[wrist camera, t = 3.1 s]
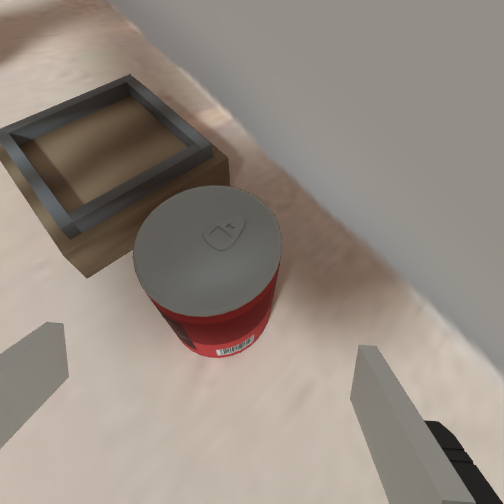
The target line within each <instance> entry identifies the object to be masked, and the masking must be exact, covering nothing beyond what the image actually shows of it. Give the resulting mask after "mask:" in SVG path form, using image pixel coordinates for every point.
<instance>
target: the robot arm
mask: <svg viewBox="0 0 504 504" xmlns="http://www.w3.org/2000/svg"><path fill="white" fill-rule="evenodd" d="M68 377H69V373H68V364H67V354H66V344H65V335H64V325H63V323H50V322H46V323H45V324H43V325H42V326H40V327H39V328H37V329H36V330H35V331H33V332H32V333H30V334H29V335H27V336H26V337H24V338H23V339H22V340H20V341H19V342H17V343H16V344H14V345H13V346H11V347H10V348H9V349H7V350H6V351H4V352H3V353H1V354H0V449H1V448H2V447H3V445H4V444H5V443H6V442H7V441H8V440H9V439H10V438H11V437H12V436H13V435H14V434H15V433H16V432H17V431H18V430H19V429H20V428H21V427H22V426H23V424H24V423H25V422H26V421H27V420H28V419H29V418H30V417H31V416H32V415H33V414H34V413H35V412H36V411H37V410H38V409H39V408H40V407H41V406H42V405H43V403H44V402H45V401H46V400H47V399H48V398H49V397H50V396H51V395H52V394H53V393H54V392H55V391H56V390H57V389H58V388H59V387H60V386H61V385H62V384H63V382H64V381H65V380H66V379H67V378H68ZM350 399H351V402H352V405H353V407H354V410H355V413H356V415H357V418H358V421H359V423H360V426H361V429H362V431H363V434H364V437H365V439H366V442H367V445H368V447H369V450H370V453H371V455H372V458H373V461H374V464H375V466H376V469H377V472H378V474H379V477H380V480H381V482H382V485H383V488H384V490H385V493H386V496H387V498H388V501H389V504H503V503H502V501H501V500H500V498H499V497H498V496H497V494H496V493H495V491H494V490H493V489H492V487H491V486H490V484H489V483H488V482H487V480H486V479H485V478H484V476H483V475H482V473H481V472H480V471H479V469H478V468H477V466H476V465H474V464H473V461H472V459H471V458H470V457H469V455H468V454H467V452H465V451H464V448H463V447H462V445H461V444H460V443H459V441H458V440H457V438H456V437H455V436H454V434H452V433H451V432H450V431H449V430H448V429H447V428H445V427H444V426H443V425H442V424H441V423H440V422H437V421H425V420H423V419H422V417H421V415H420V414H419V412H418V411H417V409H416V408H415V406H414V404H413V403H412V401H411V400H410V398H409V397H408V395H407V393H406V392H405V390H404V389H403V387H402V386H401V384H400V382H399V381H398V379H397V378H396V376H395V375H394V373H393V371H392V370H391V368H390V367H389V365H388V364H387V362H386V360H385V359H384V357H383V356H382V354H381V353H380V351H379V349H378V348H377V346H366V345H359V347H358V353H357V359H356V365H355V371H354V378H353V384H352V390H351V396H350Z"/></svg>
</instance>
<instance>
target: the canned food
mask: <svg viewBox="0 0 504 504" xmlns="http://www.w3.org/2000/svg"><path fill="white" fill-rule="evenodd" d="M281 244H282V243H281V233H280V228H279V225H278V222H277V220H276V218H275V216H274V214H273V213H272V212H271V210H270V209H269V208H268V206H267V205H265V204H264V203H263V202H262V201H261V200H260V199H259V198H257V197H255V196H254V195H252V194H250V193H248V192H246V191H243V190H240V189H238V188H233V187H228V186H213V185H211V186H203V187H197V188H193V189H189V190H186V191H183V192H181V193H179V194H176V195H174V196H172V197H171V198H169V199H167V200H166V201H164V202H163V203H161V204H160V205H159V206H158V207H157V208H156V209H154V210H153V211H152V212H151V214H150V215H149V216H148V217H147V218H146V220H145V221H144V222H143V224H142V226H141V228H140V230H139V231H138V234H137V237H136V240H135V243H134V251H133V260H134V267H135V271H136V273H137V276H138V278H139V281H140V283H141V285H142V287H143V289H144V290H145V292H146V293H147V295H148V296H149V298H150V299H151V301H152V302H153V303H154V305H155V306H156V307H157V309H158V310H159V311H160V313H161V314H162V315H163V317H164V318H165V320H166V321H167V322H168V324H169V325H170V326H171V328H172V329H173V330H174V332H175V333H176V335H177V336H178V337H179V339H180V340H181V341H182V342H183V344H184V345H185V346H187V347H188V348H189V349H190V350H191V351H193V352H195V353H197V354H199V355H202V356H206V357H213V358H222V357H228V356H232V355H235V354H237V353H240V352H242V351H243V350H245V349H247V348H248V347H250V346H251V345H252V344H253V343H254V342H255V341H256V340H257V339H258V338H259V336H260V335H261V334H262V332H263V331H264V329H265V327H266V324H267V322H268V318H269V314H270V309H271V305H272V300H273V295H274V290H275V285H276V280H277V275H278V270H279V265H280V258H281Z"/></svg>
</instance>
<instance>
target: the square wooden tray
mask: <svg viewBox="0 0 504 504" xmlns="http://www.w3.org/2000/svg"><path fill="white" fill-rule="evenodd" d="M0 161H1V162H2V164H3V165H4V167H5V168H6V170H7V171H8V173H9V174H10V176H11V177H12V179H13V180H14V182H15V184H16V185H17V187H18V188H19V190H20V191H21V193H22V194H23V196H24V197H25V199H26V200H27V202H28V203H29V205H30V206H31V208H32V209H33V211H34V212H35V214H36V215H37V217H38V218H39V220H40V221H41V223H42V224H43V226H44V227H45V229H46V230H47V232H48V233H49V235H50V236H51V238H52V239H53V241H54V242H55V244H56V245H57V247H58V248H59V250H60V251H61V253H62V254H63V256H64V257H65V258H66V259H67V260H68V261H69V262H70V263H71V264H73V265H74V266H75V267H76V268H77V269H78V270H79V271H80V272H81V273H82V274H83V275H84V276H85V277H86V278H89V277H90V276H92V275H93V274H95V273H97V272H98V271H100V270H101V269H103V268H104V267H106V266H108V265H109V264H111V263H112V262H114V261H115V260H117V259H118V258H120V257H122V256H123V255H125V254H126V253H128V252H129V251H131V250H133V249H134V243H135V240H136V237H137V234H138V231H139V230H140V228H141V226H142V224H143V222H144V221H145V220H146V218H147V217H148V216H149V215H150V214H151V212H152V211H153V210H154V209H156V208H157V207H158V206H159V205H160V204H161V203H163V202H164V201H166V200H167V199H169V198H171V197H172V196H174V195H176V194H179V193H181V192H183V191H186V190H189V189H193V188H197V187H203V186H211V185H213V186H228V187H230V179H229V164H228V157H227V156H225V155H224V154H223V153H222V152H221V151H220V150H218V149H217V148H216V147H215V146H214V145H213V144H211V143H210V142H209V141H208V140H207V139H206V138H204V137H203V136H202V135H201V134H200V133H199V132H197V131H196V130H195V129H194V128H193V127H192V126H190V125H189V124H188V123H187V122H186V121H185V120H183V119H182V118H181V117H180V116H179V115H178V114H176V113H175V112H174V111H173V110H172V109H171V108H169V107H168V106H167V105H166V104H165V103H164V102H162V101H161V100H160V99H159V98H158V97H157V96H155V95H154V94H153V93H152V92H151V91H150V90H149V89H147V88H146V87H145V86H144V85H143V84H142V83H140V82H139V81H138V80H136V79H135V78H134V77H133V76H132V75H130V74H129V75H127V76H125V77H122V78H120V79H118V80H115V81H113V82H110V83H108V84H106V85H103V86H101V87H99V88H96V89H94V90H91V91H89V92H87V93H84V94H82V95H80V96H77V97H75V98H72V99H70V100H68V101H65V102H63V103H61V104H58V105H56V106H53V107H51V108H49V109H46V110H44V111H42V112H39V113H37V114H34V115H32V116H30V117H27V118H25V119H23V120H20V121H18V122H15V123H13V124H11V125H8V126H6V127H4V128H1V129H0Z"/></svg>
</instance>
